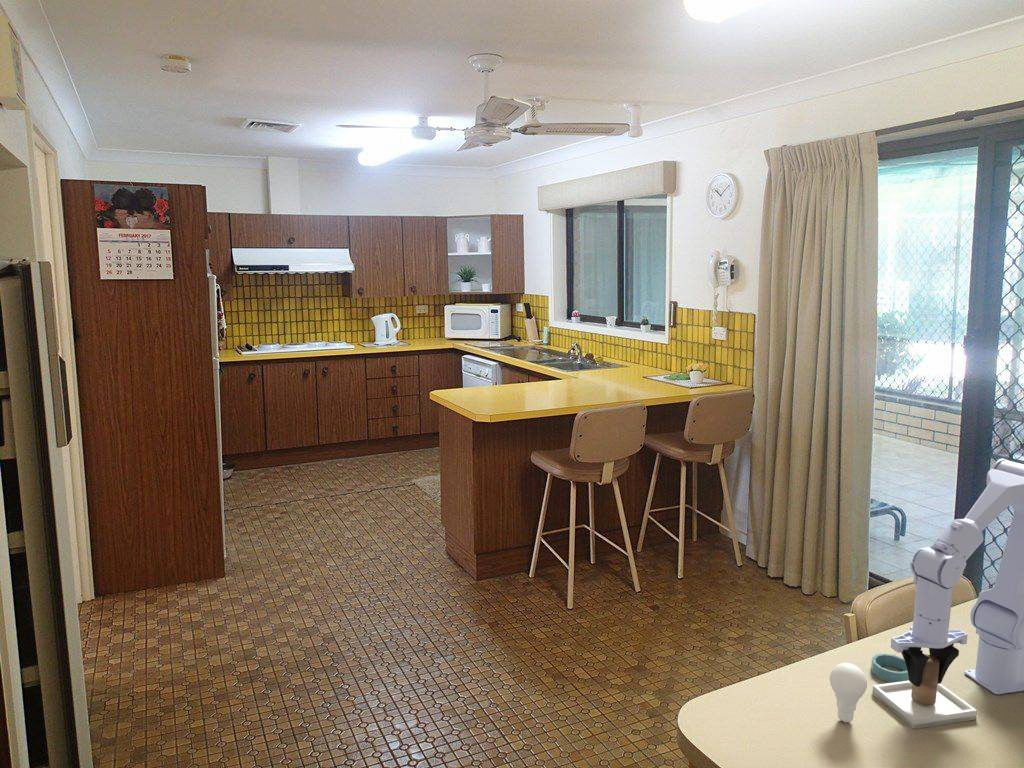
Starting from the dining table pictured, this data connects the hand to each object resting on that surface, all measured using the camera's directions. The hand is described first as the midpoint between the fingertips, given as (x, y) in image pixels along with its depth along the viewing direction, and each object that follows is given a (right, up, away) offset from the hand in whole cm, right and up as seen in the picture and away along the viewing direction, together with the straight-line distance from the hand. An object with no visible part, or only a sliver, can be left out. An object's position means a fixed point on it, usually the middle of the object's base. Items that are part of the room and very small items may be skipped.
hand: (925, 682), depth 140 cm
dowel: (0, -3, +1) cm, 3 cm away
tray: (0, -5, +1) cm, 5 cm away
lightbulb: (-16, -6, -4) cm, 18 cm away
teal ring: (0, -3, +12) cm, 12 cm away
